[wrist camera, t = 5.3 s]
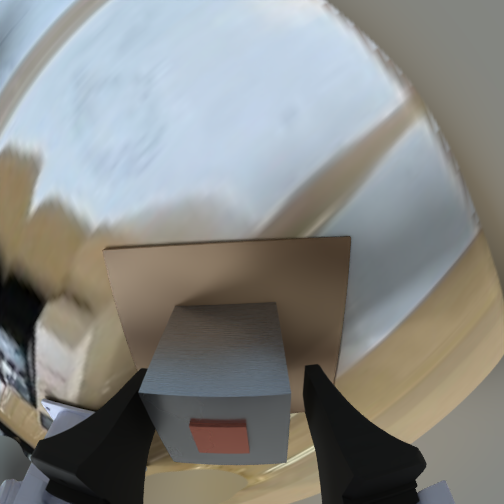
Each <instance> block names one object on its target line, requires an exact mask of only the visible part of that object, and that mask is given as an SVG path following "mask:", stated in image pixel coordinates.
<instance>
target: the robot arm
mask: <svg viewBox="0 0 504 504" xmlns="http://www.w3.org/2000/svg"><path fill="white" fill-rule="evenodd" d="M147 370H148V368H141V369H140V370H139V371H138V372H137V373H136V374H135V375H134V376H133V377H132V378H131V379H130V380H129V381H128V382H127V383H126V384H125V385H124V386H123V388H122V389H121V390H120V391H119V392H118V393H117V394H116V395H115V396H113V397H112V398H111V399H110V400H109V401H108V402H107V403H106V404H105V405H104V406H102V407H101V408H100V409H99V410H98V411H96V412H94V411H89V410H85V409H81V408H76V407H72V406H69V405H65V404H61V403H58V402H54V401H51V400H47V399H42V401H41V403H42V404H43V406H44V407H45V409H46V410H47V412H48V413H49V415H50V416H51V417H52V419H53V420H54V421H53V423H52V425H51V427H50V428H49V430H48V432H47V434H46V436H45V438H44V439H43V440H39V442H38V444H37V446H36V448H35V450H34V452H33V454H32V456H31V461H32V463H31V465H30V467H29V469H28V471H27V473H26V475H25V478H24V480H23V481H19V482H18V481H16V480H15V479H12V480H5V481H4V482H3V483H2V485H1V487H0V504H143V494H144V481H145V471H146V470H147V467H146V464H147V458H148V453H149V449H150V445H151V442H152V439H153V435H154V432H155V427H154V425H153V423H152V421H151V419H150V417H149V415H148V412H147V410H146V408H145V406H144V404H143V402H142V400H141V397H140V395H139V393H138V392H139V389H140V387H141V384H142V382H143V379H144V377H145V374H146V372H147ZM303 401H304V408H305V414H306V418H307V421H308V425H309V429H310V432H311V436H312V440H313V443H314V447H315V451H316V456H317V462H318V470H319V477H320V486H321V495H322V504H455V502H454V499H453V497H452V495H451V492H450V490H449V488H448V486H447V483H446V481H445V480H443V481H441V482H438V483H436V484H434V485H432V486H429V487H427V488H425V489H423V490H421V491H419V492H418V493H417V492H416V489H415V488H416V487H417V483H416V481H415V480H416V478H417V477H418V476H419V475H420V474H421V473H422V472H423V471H424V469H425V468H426V462H425V459H424V457H423V455H422V454H421V452H420V451H419V449H418V448H417V447H415V446H412V445H410V444H408V443H405V442H403V441H401V440H399V439H397V438H395V437H393V436H391V435H390V434H388V433H387V432H385V431H383V430H382V429H380V428H379V427H377V426H376V425H374V424H373V423H372V422H370V421H369V420H368V419H367V418H365V417H364V416H363V415H362V414H361V413H360V412H358V411H357V410H356V409H355V408H354V407H353V406H352V405H351V404H350V403H349V402H348V401H347V400H346V399H345V398H344V396H343V395H342V394H341V393H340V392H339V391H338V390H337V388H336V387H335V386H334V385H333V383H332V382H331V381H330V379H329V378H328V377H327V375H326V374H325V373H324V371H323V370H322V368H321V367H320V365H318V364H314V365H305V371H304V383H303Z"/></svg>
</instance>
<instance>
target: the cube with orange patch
mask: <svg viewBox="0 0 504 504" xmlns="http://www.w3.org/2000/svg"><path fill="white" fill-rule="evenodd" d="M138 393H139V395H140V397H141V400H142V402H143V404H144V406H145V408H146V410H147V412H148V415H149V417H150V419H151V421H152V423H153V425H154V427H155V429H156V430H157V432H158V434H159V436H160V438H161V440H162V442H163V444H164V445H165V447H166V449H167V451H168V453H169V454H170V456H171V458H172V459H173V461H174V462H184V463H196V464H214V465H258V464H276V463H286V462H287V450H288V437H289V423H290V408H291V389H290V382H289V376H288V370H287V364H286V358H285V352H284V346H283V340H282V334H281V328H280V322H279V316H278V311H277V305H276V302H266V303H247V304H224V305H191V306H175V307H174V309H173V312H172V314H171V316H170V318H169V321H168V323H167V325H166V327H165V330H164V332H163V334H162V337H161V339H160V341H159V343H158V346H157V348H156V351H155V353H154V355H153V358H152V360H151V362H150V365H149V367H148V370H147V372H146V374H145V377H144V379H143V382H142V384H141V387H140V389H139V392H138Z"/></svg>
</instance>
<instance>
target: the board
mask: <svg viewBox="0 0 504 504" xmlns="http://www.w3.org/2000/svg"><path fill="white" fill-rule="evenodd" d="M350 246H351V237H350V236H343V237H319V238H296V239H274V240H254V241H234V242H215V243H196V244H179V245H162V246H145V247H129V248H113V249H104V250H103V255H104V260H105V264H106V269H107V273H108V277H109V281H110V285H111V289H112V293H113V297H114V301H115V304H116V308H117V311H118V315H119V318H120V322H121V325H122V328H123V331H124V334H125V337H126V341H127V344H128V346H129V349H130V352H131V355H132V358H133V361H134V363H135V366H136V369H137V371H139V370H140V369H141V368H148V367H149V365H150V362H151V360H152V358H153V355H154V353H155V351H156V348H157V346H158V343H159V341H160V339H161V337H162V334H163V332H164V330H165V327H166V325H167V323H168V321H169V318H170V316H171V314H172V312H173V309H174V307H175V306H191V305H224V304H247V303H266V302H276V305H277V311H278V316H279V322H280V328H281V334H282V340H283V346H284V352H285V358H286V364H287V370H288V376H289V382H290V389H291V408H290V413H299V412H305V408H304V401H303V383H304V371H305V365H314V364H318V365H320V367H321V368H322V370H323V371H324V373H325V374H326V375H327V377H328V378H329V379H330V381H331V382H332V383H333V382H334V377H335V371H336V366H337V360H338V354H339V347H340V341H341V334H342V327H343V319H344V311H345V303H346V294H347V284H348V273H349V261H350Z"/></svg>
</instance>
